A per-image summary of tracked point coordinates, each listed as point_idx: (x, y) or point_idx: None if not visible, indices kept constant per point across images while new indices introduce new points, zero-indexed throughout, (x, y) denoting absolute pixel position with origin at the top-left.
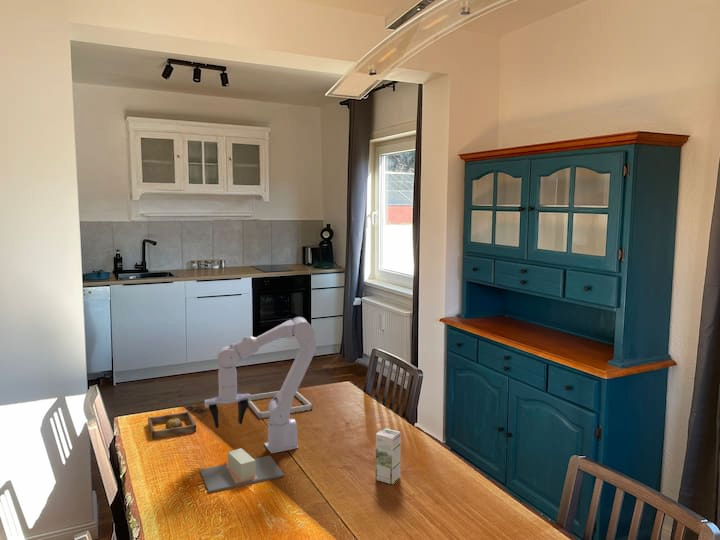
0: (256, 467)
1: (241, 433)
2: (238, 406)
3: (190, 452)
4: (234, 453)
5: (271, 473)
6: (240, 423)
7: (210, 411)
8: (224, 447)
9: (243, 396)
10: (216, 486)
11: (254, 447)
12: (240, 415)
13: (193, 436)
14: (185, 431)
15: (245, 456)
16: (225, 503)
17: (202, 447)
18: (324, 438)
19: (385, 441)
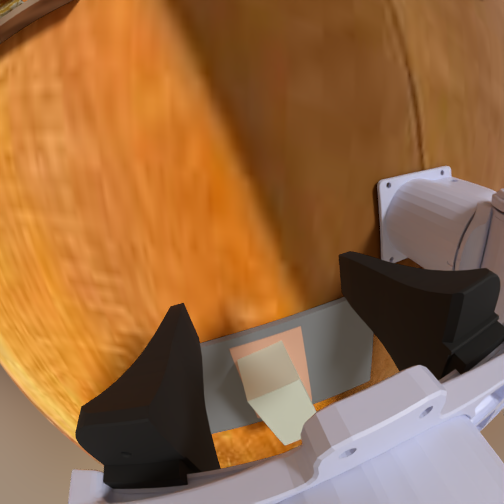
0: (320, 358)
1: (293, 34)
2: (414, 302)
3: (68, 205)
4: (271, 409)
5: (347, 380)
6: (346, 294)
7: (118, 381)
8: (212, 170)
9: (490, 420)
10: (212, 426)
11: (340, 197)
12: (376, 327)
13: (68, 37)
14: (37, 13)
15: (303, 419)
16: (236, 451)
17: (109, 156)
18: (496, 187)
19: (502, 412)
